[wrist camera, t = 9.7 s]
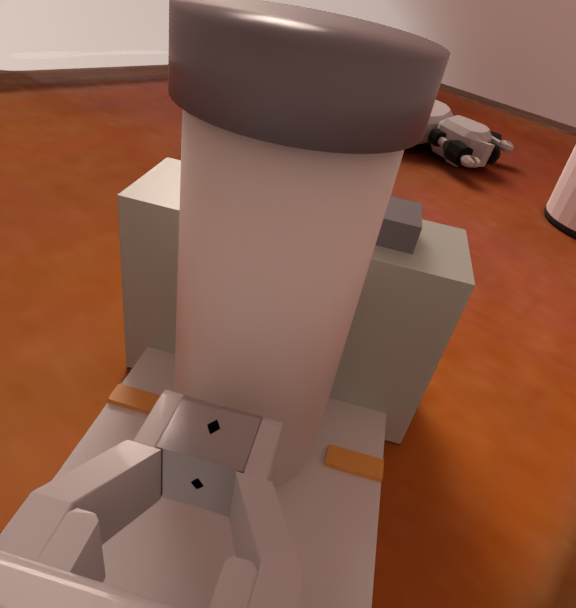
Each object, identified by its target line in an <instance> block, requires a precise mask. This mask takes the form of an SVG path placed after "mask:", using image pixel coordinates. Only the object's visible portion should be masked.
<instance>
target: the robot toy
mask: <svg viewBox="0 0 576 608" xmlns="http://www.w3.org/2000/svg"><path fill="white" fill-rule="evenodd" d="M501 136H502V135H501V134H499V133H496V132H493V131H490V130H489V128H488V127H487V126H485V125H483V124H481V123H478V122H476V121H473V120H471V119H468V118H465V117H463V116H460V115H457V116H453V115H452V112H451V110H450V108H449V107H448V106H447V105H446V104H444V103H442V102H440V101H437V100H435V102H434V105H433V108H432V112H431V115H430V118H429V121H428V124H427V127H426V130H425V133H424V136H423V139H422V140H421V141H420V143H418V144H425V143H430V144H431V147H432V151H433V152H435V153H436V154H438V155H440V156H441V157H443V158H445V161H446V162H447V163H449V164H451V165H453V166H455V167H459V166H466V167H485V165H486V164H492V163H494V162H496V161H497V160H498V158H499V157H500V150H502V151H503V152H512V150H513V148H514V147H513V145H512V143H510V142H508V141H506V140H501Z"/></svg>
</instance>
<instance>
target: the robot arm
mask: <svg viewBox="0 0 576 608" xmlns="http://www.w3.org/2000/svg"><path fill="white" fill-rule="evenodd" d="M282 428H283V423H282V422H279V421H275V420H272V419H268V418H265V417H262V416H259V415H255V414H251V413H247V412H244V411H240V410H236V409H233V408H229V407H225V406H224V407H222V406H219V405H216V404H213V403H209V402H206V401H203V400H200V399H197V398H193V397H190V396H187V395H183V394H180V393H176V392H173V391H170V390H165V391H164V392H163V393H162V394H161V395H160V397H159V398H158V400H157V401H156V403H155V405H154V406H153V408H152V410H151V411H150V413H149V415H148V416H147V418H146V420H145V421H144V423H143V425H142V426H141V428H140V430H139V431H138V433H137V435H136V436H135V438H134V439H133V441H131V440H128V439H127V440H125V441H123V442H121V443H119V444H117V445H116V446H114V447H112V448H110V449H108V450H107V451H105V452H103V453H101V454H99V455H97V456H96V457H94V458H92V459H90V460H88V461H87V462H85V463H83V464H81V465H79V466H78V467H76V468H74V469H72V470H70V471H68V472H67V473H65V474H63V475H61V476H59V477H58V478H56V479H54V480H52V481H50V482H48V483H47V484H45V485H43V486H41V487H39V488H38V489H36V490H34V491H32V492H31V493H30V495H29V496H28V497H27V499H26V500H25V501H24V503H23V504H22V506H21V507H20V508H19V510H18V511H17V512H16V514H15V515H14V516H13V518H12V519H11V520H10V522H9V523H8V524H7V526H6V527H5V528H4V530H3V531H2V532H1V534H0V608H180V607H177V606H173V605H170V604H167V603H164V602H161V601H158V600H155V599H152V598H149V597H145V596H142V595H139V594H136V593H133V592H130V591H127V590H124V589H120V588H117V587H114V586H111V585H108V584H105V583H103V581H104V579H105V577H106V574H105V566H104V558H103V551H102V545H103V544H104V543H105V542H107V541H108V540H109V539H111V538H112V537H113V536H114V535H116V534H117V533H118V532H120V531H121V530H122V529H123V528H125V527H126V526H127V525H128V524H130V523H131V522H132V521H134V520H135V519H136V518H137V517H139V516H140V515H141V514H143V513H144V512H145V511H146V510H148V509H149V508H150V507H152V506H153V505H154V504H155V503H157V502H158V501H159V500H160V499H161V497H163V498H167V499H171V500H175V501H178V502H182V503H186V504H189V505H193V506H196V507H199V508H202V509H206V510H209V511H212V512H215V513H218V514H221V515H224V516H227V517H229V523H230V528H231V533H232V538H233V543H234V548H235V553H236V557H235V556H232V557H230V558H228V559H227V560H225V563H224V566H223V569H222V571H221V574H220V577H219V580H218V583H217V586H216V589H215V592H214V595H213V598H212V601H211V604H210V606H209V608H298V607H299V602H300V596H301V591H302V586H303V580H304V574H303V571H302V568H301V565H300V562H299V559H298V556H297V553H296V550H295V547H294V544H293V541H292V538H291V535H290V532H289V530H288V527H287V524H286V521H285V518H284V515H283V512H282V509H281V506H280V503H279V500H278V497H277V494H276V491H275V488H274V485H273V482H271V481H270V477H271V474H272V470H273V466H274V462H275V458H276V453H277V449H278V445H279V441H280V436H281V432H282Z"/></svg>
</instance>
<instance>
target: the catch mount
mask: <svg viewBox="0 0 576 608" xmlns="http://www.w3.org/2000/svg"><path fill="white" fill-rule="evenodd" d="M180 176H181V161H180V160H176V159H172V158H168V157H167V158H166V159H164V160H163V161H162V162H160V163H159V164H158V165H156V166H155V167H154V168H153V169H151V170H150V171H149V172H147V173H146V174H145V175H143V176H142V177H141V178H139V179H138V180H137V181H135V182H134V183H133V184H131V185H130V186H129V187H127V188H126V189H125V190H123V191H122V192H121V193H119V194H118V212H119V232H120V251H121V271H122V290H123V310H124V330H125V349H126V367H130V368H132V370H131V371H130V372H129V374H128V375H127V377H126V378H125V379H124V381H123V382H122V384H118V385H117V386H116V388H115V389H114V391H113V392H112V393H111V395H110V396H109V397H108V403H107V404H106V406H105V407H104V409H103V410H102V411H101V413H100V414H99V416H98V417H97V418H96V420H95V421H94V423H93V424H92V425H91V427H90V428H89V430H88V431H87V432H86V434H85V435H84V437H83V438H82V439H81V441H80V442H79V444H78V445H77V446H76V448H75V449H74V451H73V452H72V453H71V455H70V456H69V457H68V459H67V460H66V462H65V463H64V464H63V466H62V467H61V469H60V470H59V471H58V473H57V474H56V476H55V477H54V478H53V480H54V479H56V478H58V477H59V476H61V475H63V474H65V473H67V472H68V471H70V470H72V469H74V468H76V467H78V466H79V465H81V464H83V463H85V462H87V461H88V460H90V459H92V458H94V457H96V456H97V455H99V454H101V453H103V452H105V451H107V450H108V449H110V448H112V447H114V446H116V445H117V444H119V443H121V442H123V441H125V440H127V439H128V440H131V441H133V439H134V438H135V436H136V435H137V433H138V431H139V430H140V428H141V426H142V425H143V423H144V421H145V420H146V418H147V416H148V415H149V413H150V411H151V410H152V408H153V406H154V405H155V403H156V401H157V400H158V398H159V397H160V395H161V394H162V393H163V392H164V391H165V390H170V391H173V392H174V376H175V343H176V309H177V276H178V243H179V209H180ZM474 286H475V282H474V276H473V270H472V264H471V258H470V252H469V246H468V241H467V235H466V230H464V229H460V228H456V227H451V226H447V225H443V224H439V223H435V222H431V221H427V220H423V219H422V203H417V202H413V201H409V200H405V199H401V198H397V197H392V196H390V199H389V202H388V205H387V209H386V212H385V215H384V219H383V222H382V225H381V228H380V232H379V235H378V238H377V242H376V245H375V248H374V251H373V255H372V258H371V261H370V265H369V268H368V271H367V274H366V278H365V281H364V284H363V288H362V291H361V294H360V297H359V301H358V304H357V307H356V311H355V314H354V317H353V320H352V324H351V327H350V330H349V334H348V337H347V340H346V343H345V347H344V350H343V353H342V357H341V360H340V363H339V366H338V370H337V373H336V376H335V380H334V383H333V386H332V389H331V393H330V396H329V399H328V403H327V406H326V409H325V412H324V416H323V419H322V422H321V426H320V429H319V432H318V435H317V439H316V442H315V445H314V449H313V452H312V454H311V456H310V458H309V461H308V462H307V463H306V465H305V466H304V468H303V469H302V470H301V471H300V472H299V473H298V474H296V475H295V476H294V477H292V478H291V479H289V480H288V481H286V482H284V483H282V484H280V485H277V486H275V487H274V488H275V491H276V494H277V497H278V500H279V503H280V506H281V509H282V512H283V515H284V518H285V521H286V524H287V527H288V530H289V532H290V535H291V538H292V541H293V544H294V547H295V550H296V553H297V556H298V559H299V562H300V565H301V568H302V571H303V574H304V580H303V586H302V591H301V596H300V602H299V607H298V608H372V596H373V583H374V570H375V557H376V544H377V531H378V518H379V505H380V492H381V482H382V480H383V470H384V460H383V453H384V440H387V441H390V442H394V443H397V444H401V442H402V440H403V438H404V436H405V433H406V431H407V429H408V427H409V425H410V423H411V421H412V419H413V416H414V414H415V412H416V410H417V408H418V406H419V404H420V402H421V399H422V397H423V395H424V393H425V391H426V389H427V387H428V384H429V382H430V380H431V378H432V376H433V374H434V372H435V370H436V367H437V365H438V363H439V361H440V359H441V357H442V355H443V353H444V350H445V348H446V346H447V344H448V342H449V340H450V338H451V335H452V333H453V331H454V329H455V327H456V325H457V323H458V321H459V318H460V316H461V314H462V312H463V310H464V308H465V306H466V303H467V301H468V299H469V297H470V295H471V293H472V291H473V289H474ZM102 551H103V558H104V566H105V574H106V577H105V579H104V581H103V583H105V584H108V585H111V586H114V587H117V588H120V589H124V590H127V591H130V592H133V593H136V594H139V595H142V596H145V597H149V598H152V599H155V600H158V601H161V602H164V603H167V604H170V605H173V606H177V607H180V608H209V606H210V604H211V601H212V598H213V595H214V592H215V589H216V586H217V583H218V580H219V577H220V574H221V571H222V569H223V566H224V563H225V560H227V559H228V558H230V557H232V556H235V557H236V553H235V548H234V543H233V538H232V533H231V528H230V523H229V517H227V516H224V515H221V514H218V513H215V512H212V511H209V510H206V509H202V508H199V507H196V506H193V505H189V504H186V503H182V502H178V501H175V500H171V499H167V498H163V497H161V499H160V500H159V501H158V502H157V503H155V504H154V505H153V506H152V507H150V508H149V509H148V510H146V511H145V512H144V513H143V514H141V515H140V516H139V517H137V518H136V519H135V520H134V521H132V522H131V523H130V524H128V525H127V526H126V527H125V528H123V529H122V530H121V531H120V532H118V533H117V534H116V535H114V536H113V537H112V538H111V539H109V540H108V541H107V542H105V543H104V544H103V545H102Z"/></svg>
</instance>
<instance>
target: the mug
mask: <svg viewBox="0 0 576 608" xmlns="http://www.w3.org/2000/svg"><path fill="white" fill-rule="evenodd" d="M545 217H546V218H547V220H548V221H549V222H550V223H551V224H552V225H554V226H555V227H556V228H558V229H559V230H561V231H562V232H564V233H566V234H568V235H570V236H572V237H574V238H576V145H575V147H574V149H573V151H572V153H571V155H570V157H569V159H568V161H567V164H566V166H565V168H564V170H563V172H562V174H561V176H560V178H559V180H558V182H557V184H556V186H555V188H554V190H553V192H552V195H551V197H550V199H549V201H548V203H547V205H546V207H545Z"/></svg>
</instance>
